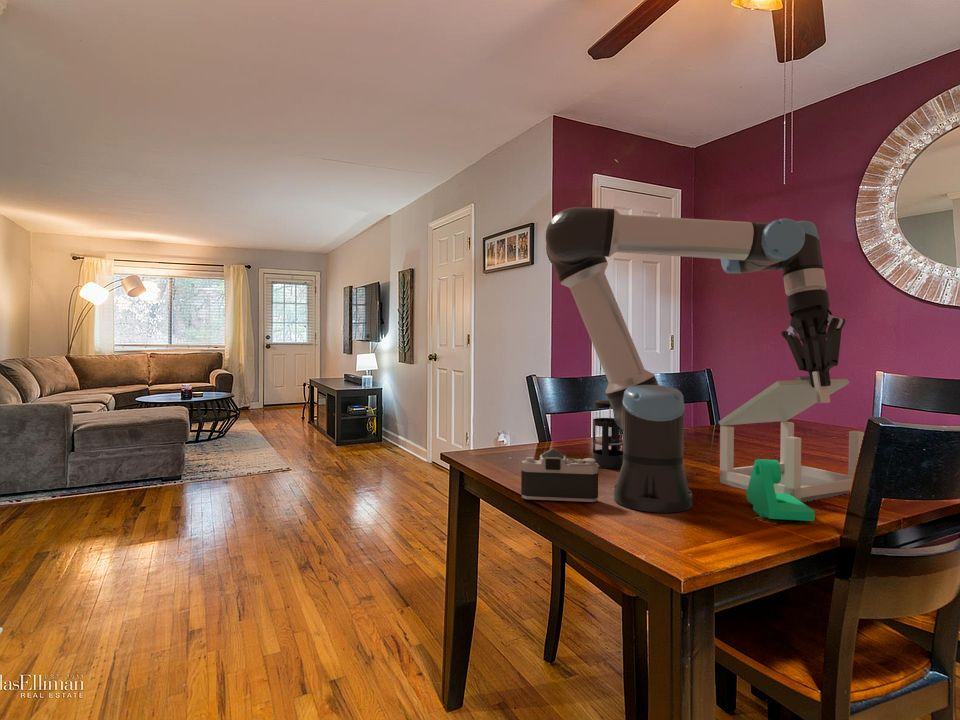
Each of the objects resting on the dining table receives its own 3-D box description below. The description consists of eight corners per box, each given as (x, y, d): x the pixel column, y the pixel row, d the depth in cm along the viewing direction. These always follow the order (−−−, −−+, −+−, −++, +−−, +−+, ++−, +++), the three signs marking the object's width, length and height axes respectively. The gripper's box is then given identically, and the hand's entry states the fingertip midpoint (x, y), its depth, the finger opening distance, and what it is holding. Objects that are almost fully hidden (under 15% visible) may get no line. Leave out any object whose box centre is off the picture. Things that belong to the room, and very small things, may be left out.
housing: (793, 503, 102) (794, 438, 102) (719, 482, 119) (720, 426, 119) (863, 492, 111) (864, 432, 111) (785, 474, 128) (786, 421, 127)
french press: (622, 470, 130) (623, 380, 130) (586, 466, 135) (586, 378, 135) (633, 462, 141) (634, 378, 140) (599, 458, 145) (600, 377, 145)
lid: (780, 385, 105) (774, 375, 106) (720, 425, 119) (716, 417, 120) (849, 382, 113) (844, 374, 115) (786, 420, 127) (781, 412, 128)
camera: (597, 491, 111) (597, 445, 111) (600, 503, 103) (600, 453, 103) (523, 488, 114) (523, 443, 113) (520, 500, 105) (520, 451, 105)
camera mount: (816, 527, 89) (817, 468, 89) (769, 524, 91) (769, 466, 91) (788, 506, 101) (789, 454, 101) (746, 504, 103) (747, 453, 102)
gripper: (847, 285, 106) (867, 399, 102) (792, 302, 118) (807, 405, 114) (822, 282, 104) (841, 399, 99) (768, 300, 115) (783, 405, 111)
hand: (823, 402), depth 106 cm, fingers closed
